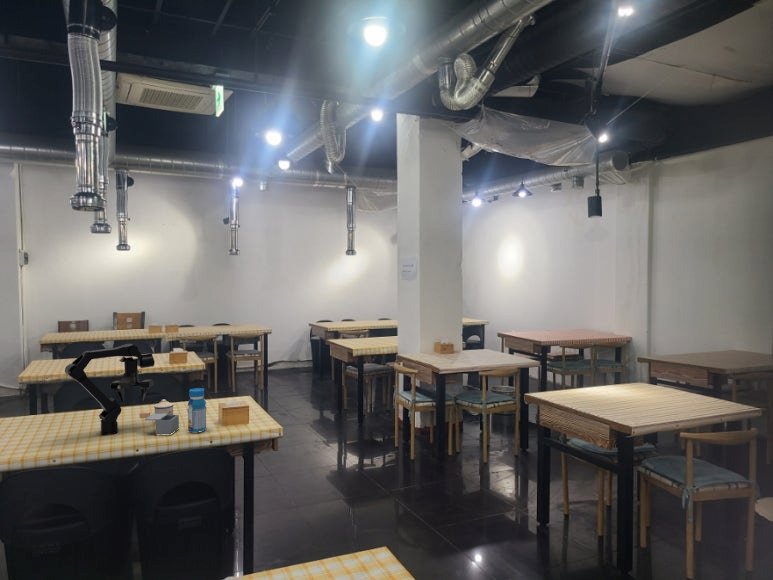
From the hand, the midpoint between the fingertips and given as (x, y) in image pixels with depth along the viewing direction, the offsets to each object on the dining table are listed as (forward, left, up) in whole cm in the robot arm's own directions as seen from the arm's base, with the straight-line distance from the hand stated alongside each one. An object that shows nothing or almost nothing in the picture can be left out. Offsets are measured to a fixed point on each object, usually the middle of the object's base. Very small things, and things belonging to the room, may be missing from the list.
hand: (132, 401), depth 253 cm
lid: (+7, -13, -6) cm, 16 cm away
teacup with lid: (+15, +3, -13) cm, 20 cm away
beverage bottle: (+25, -23, -13) cm, 36 cm away
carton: (+12, -17, -13) cm, 25 cm away
